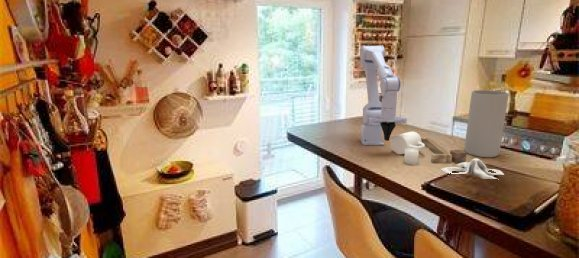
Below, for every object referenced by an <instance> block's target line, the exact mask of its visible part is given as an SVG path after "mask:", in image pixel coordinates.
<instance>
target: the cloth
mask: <svg viewBox="0 0 579 258" xmlns="http://www.w3.org/2000/svg"><path fill="white" fill-rule="evenodd" d="M458 166H459V167H458ZM462 167H464V168H462ZM439 170H440V171H441V170H442V171H441V172H443V173H444V172H445V173H444V174H446V173H449V174H450V173H451V174H468V173H472V174H473V175H475V176H478V177H480V178H482V179H498V177H494V175H505V174H504V173H503V171H502V170H499V169H495V168H488V167H487V165H486V164H485V163H484V162H483V161H482V160H481V159H479V158H477V157H476V158H473V159H471V161H470V162H467V161H466V162H463V163H456V166H448V167H447V166H446V167H442V168H440V169H439ZM489 170H492V171H494V172H496V173H491V172H488V171H489ZM452 171H465V172H459V173H452Z"/></svg>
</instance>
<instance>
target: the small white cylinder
mask: <svg viewBox="0 0 579 258" xmlns="http://www.w3.org/2000/svg"><path fill="white" fill-rule="evenodd" d="M419 152H420V150H418V149H415V148H406V149H405V153H404V156H403V157H404V158H403V163H404V164H406V165H413V166H414V165H417V164H419V163H418V162H419Z"/></svg>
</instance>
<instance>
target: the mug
mask: <svg viewBox="0 0 579 258" xmlns="http://www.w3.org/2000/svg"><path fill="white" fill-rule="evenodd" d="M421 138H422V137H421V135H420V134H419V133H417V131H407V132H403V133H400V134H396V135H394V136H393V137H392V138H391V140H390V146H391V149H392V151H393V152H394V153H395V154H398V155H403V154H405V149H406V148H415V149H418V150H419V151H420V150H423V149H425V147H426V145H425V144H423V143H422V140H421Z"/></svg>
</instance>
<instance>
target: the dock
mask: <svg viewBox="0 0 579 258" xmlns="http://www.w3.org/2000/svg"><path fill="white" fill-rule="evenodd" d="M421 140H422V143H423V144H425V147H427V148H428V149H429V150H430V151H431V152H433V153H431V158H430V162H431V163H433V164H434V163H436V164H437V163H439V164H440V163H441V164H443V163H444V164H445V163H446V164H447V163H448V164H449V163H450V164H451V163H452V155H451V154H450V151H447V150H446V149H445V148H443V146H441V145H440V144H438V143H437V142H436V141H434V140H433V139H432V138H430V137H421Z"/></svg>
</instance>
